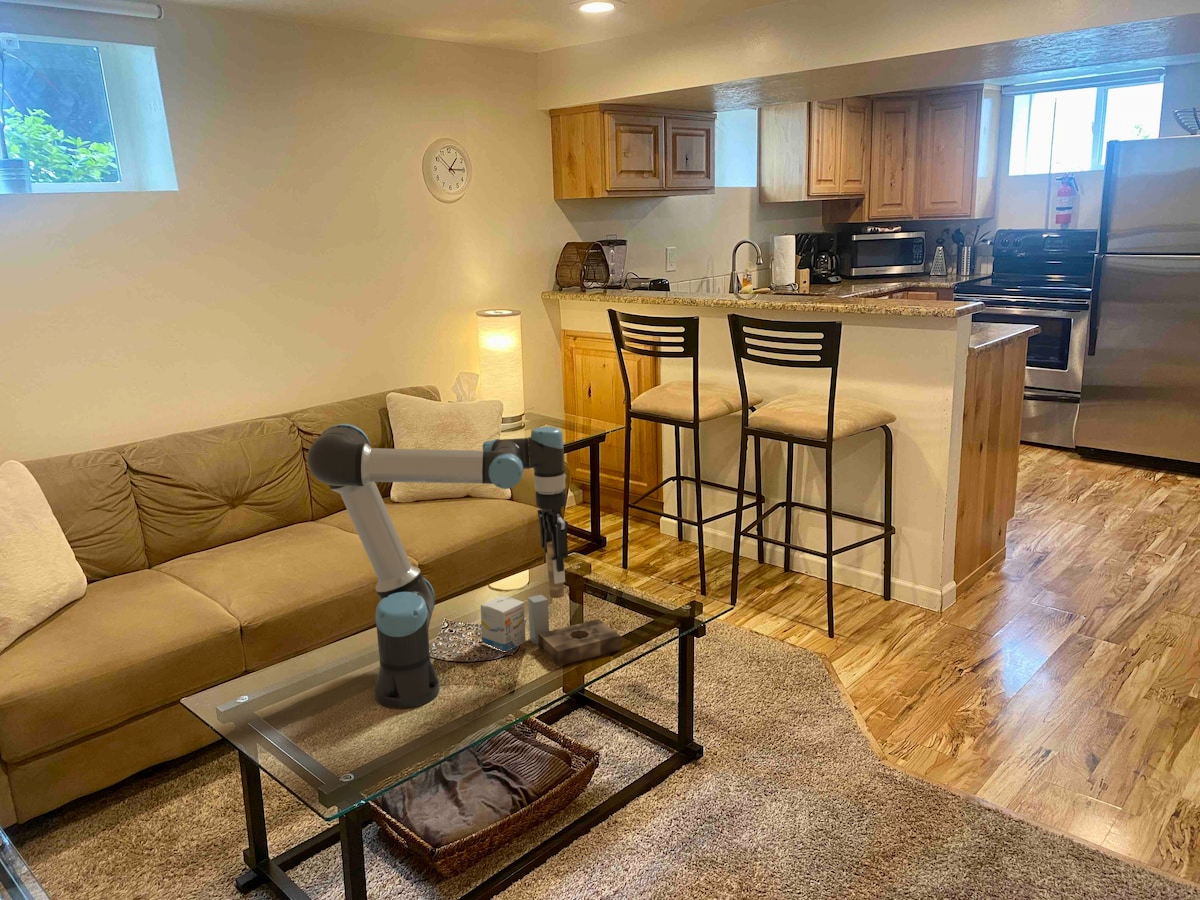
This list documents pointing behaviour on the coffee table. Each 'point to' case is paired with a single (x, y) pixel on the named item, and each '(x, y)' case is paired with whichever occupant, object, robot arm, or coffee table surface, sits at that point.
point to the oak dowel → (555, 589)
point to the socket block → (579, 642)
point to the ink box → (503, 623)
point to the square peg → (538, 617)
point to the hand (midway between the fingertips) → (556, 579)
